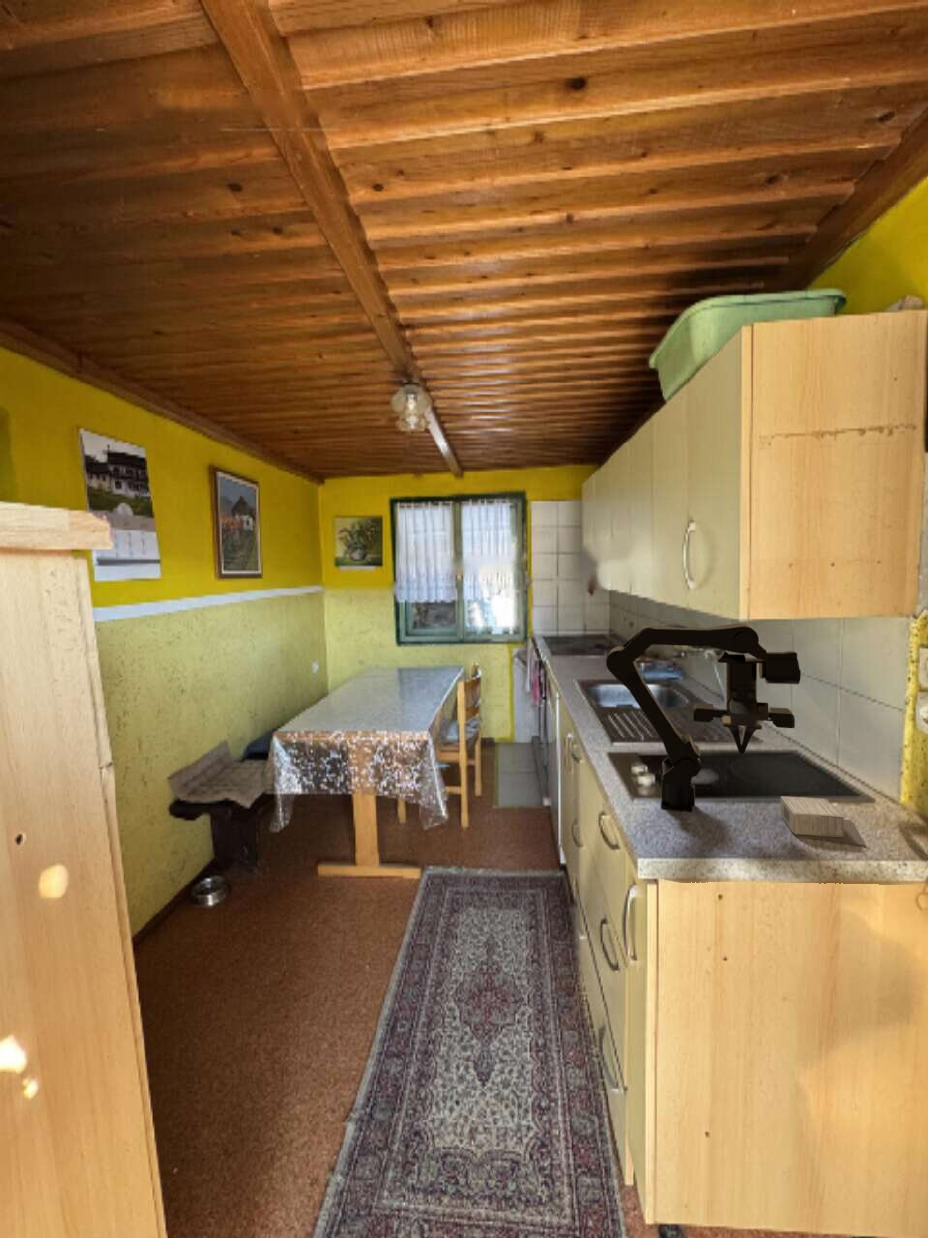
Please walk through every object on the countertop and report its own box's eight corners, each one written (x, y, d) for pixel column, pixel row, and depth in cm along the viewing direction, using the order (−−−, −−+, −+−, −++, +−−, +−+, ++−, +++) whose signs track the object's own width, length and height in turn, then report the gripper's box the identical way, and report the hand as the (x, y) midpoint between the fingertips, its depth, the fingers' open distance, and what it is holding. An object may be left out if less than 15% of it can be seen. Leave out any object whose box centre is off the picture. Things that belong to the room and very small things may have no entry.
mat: (796, 836, 99) (796, 835, 99) (788, 813, 108) (788, 812, 108) (865, 847, 94) (865, 845, 94) (851, 822, 103) (851, 820, 103)
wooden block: (793, 834, 99) (844, 839, 97) (793, 813, 99) (845, 816, 97) (779, 815, 107) (827, 819, 105) (780, 795, 106) (827, 798, 104)
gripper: (692, 689, 104) (693, 762, 106) (799, 694, 96) (799, 773, 98) (693, 678, 114) (694, 744, 116) (790, 681, 106) (790, 753, 108)
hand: (741, 753), depth 109 cm, fingers closed
